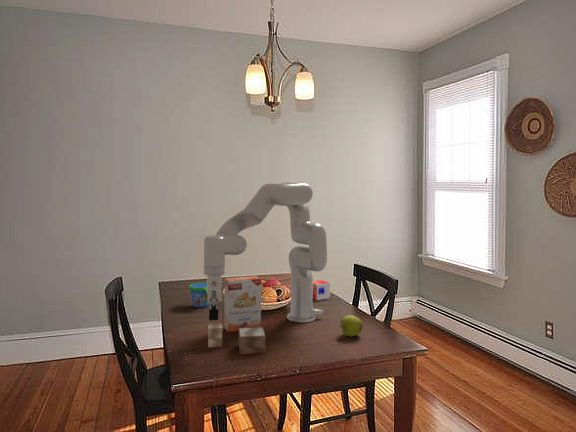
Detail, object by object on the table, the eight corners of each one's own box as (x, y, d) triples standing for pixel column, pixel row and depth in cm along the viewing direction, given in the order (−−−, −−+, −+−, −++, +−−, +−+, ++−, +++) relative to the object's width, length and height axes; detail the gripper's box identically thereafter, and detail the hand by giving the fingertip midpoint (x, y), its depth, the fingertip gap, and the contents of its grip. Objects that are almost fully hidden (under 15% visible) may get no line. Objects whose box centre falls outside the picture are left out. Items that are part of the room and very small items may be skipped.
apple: (335, 334, 180) (335, 314, 180) (355, 331, 184) (355, 311, 183) (345, 340, 173) (345, 320, 172) (365, 337, 177) (366, 317, 176)
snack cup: (184, 303, 221) (183, 283, 220) (204, 300, 227) (204, 280, 226) (197, 311, 208) (197, 290, 208) (218, 308, 214) (218, 286, 214)
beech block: (222, 341, 172) (221, 323, 171) (222, 346, 167) (222, 327, 166) (208, 342, 171) (208, 324, 170) (208, 347, 166) (208, 328, 165)
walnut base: (263, 343, 170) (263, 327, 169) (265, 352, 161) (265, 335, 160) (238, 344, 168) (238, 328, 168) (239, 354, 160) (239, 336, 159)
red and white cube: (320, 294, 240) (320, 279, 239) (329, 298, 233) (329, 282, 233) (307, 296, 236) (308, 281, 235) (316, 300, 229) (316, 284, 229)
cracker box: (228, 333, 181) (227, 281, 179) (224, 328, 186) (223, 277, 184) (261, 328, 186) (261, 278, 184) (256, 324, 192) (256, 275, 190)
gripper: (225, 274, 158) (224, 323, 159) (224, 265, 175) (223, 309, 176) (203, 274, 157) (202, 323, 158) (204, 265, 174) (204, 309, 175)
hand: (213, 316), depth 167 cm, fingers open, 9 cm apart
